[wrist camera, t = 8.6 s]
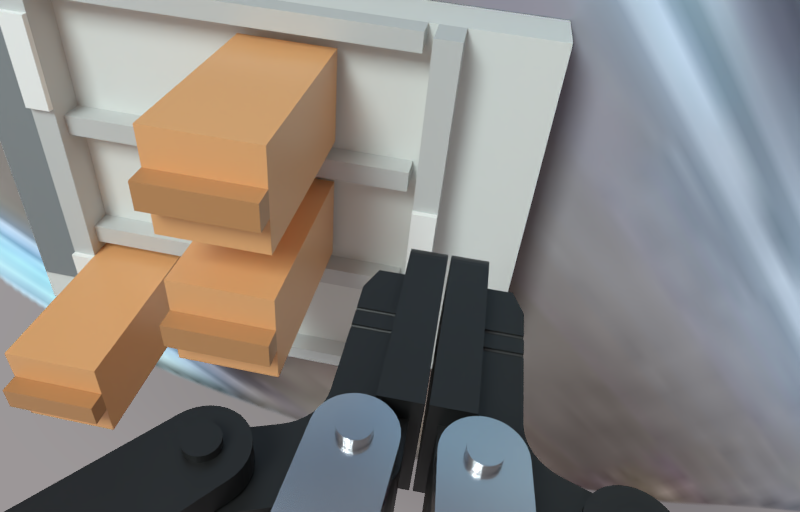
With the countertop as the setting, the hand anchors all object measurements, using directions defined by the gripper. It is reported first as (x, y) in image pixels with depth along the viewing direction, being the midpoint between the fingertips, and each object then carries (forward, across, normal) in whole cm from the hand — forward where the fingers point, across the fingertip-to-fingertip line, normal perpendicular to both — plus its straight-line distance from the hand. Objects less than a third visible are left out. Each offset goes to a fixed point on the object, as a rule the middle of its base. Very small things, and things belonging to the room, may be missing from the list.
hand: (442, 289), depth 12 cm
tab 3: (+8, +6, +5) cm, 11 cm away
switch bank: (+10, +7, +5) cm, 13 cm away
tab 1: (+8, +12, +9) cm, 17 cm away
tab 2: (+8, +6, 0) cm, 10 cm away
